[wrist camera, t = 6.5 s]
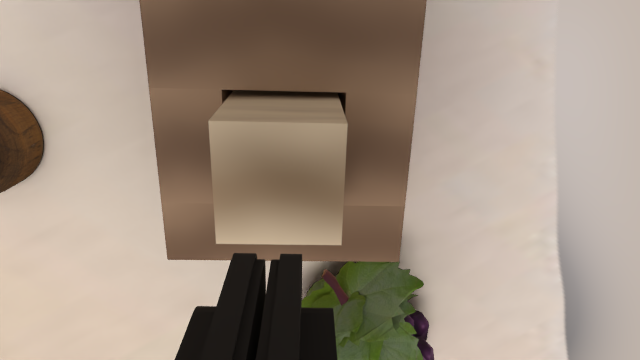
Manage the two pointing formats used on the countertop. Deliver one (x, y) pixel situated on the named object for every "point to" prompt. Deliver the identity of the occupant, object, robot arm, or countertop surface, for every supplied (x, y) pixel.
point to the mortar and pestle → (17, 142)
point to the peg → (278, 168)
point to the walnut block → (285, 75)
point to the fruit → (373, 312)
